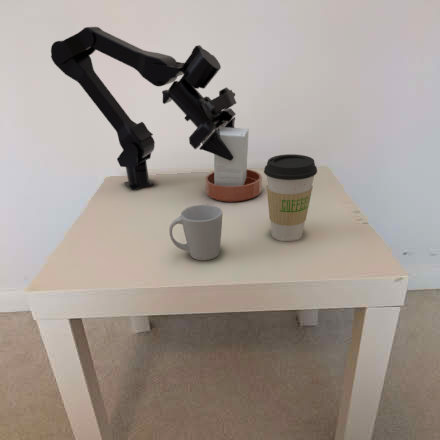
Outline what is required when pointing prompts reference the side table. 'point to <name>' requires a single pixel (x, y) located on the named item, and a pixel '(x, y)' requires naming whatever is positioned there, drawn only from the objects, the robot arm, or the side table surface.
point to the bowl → (235, 188)
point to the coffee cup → (289, 194)
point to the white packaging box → (237, 167)
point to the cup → (200, 231)
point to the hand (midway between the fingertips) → (237, 154)
